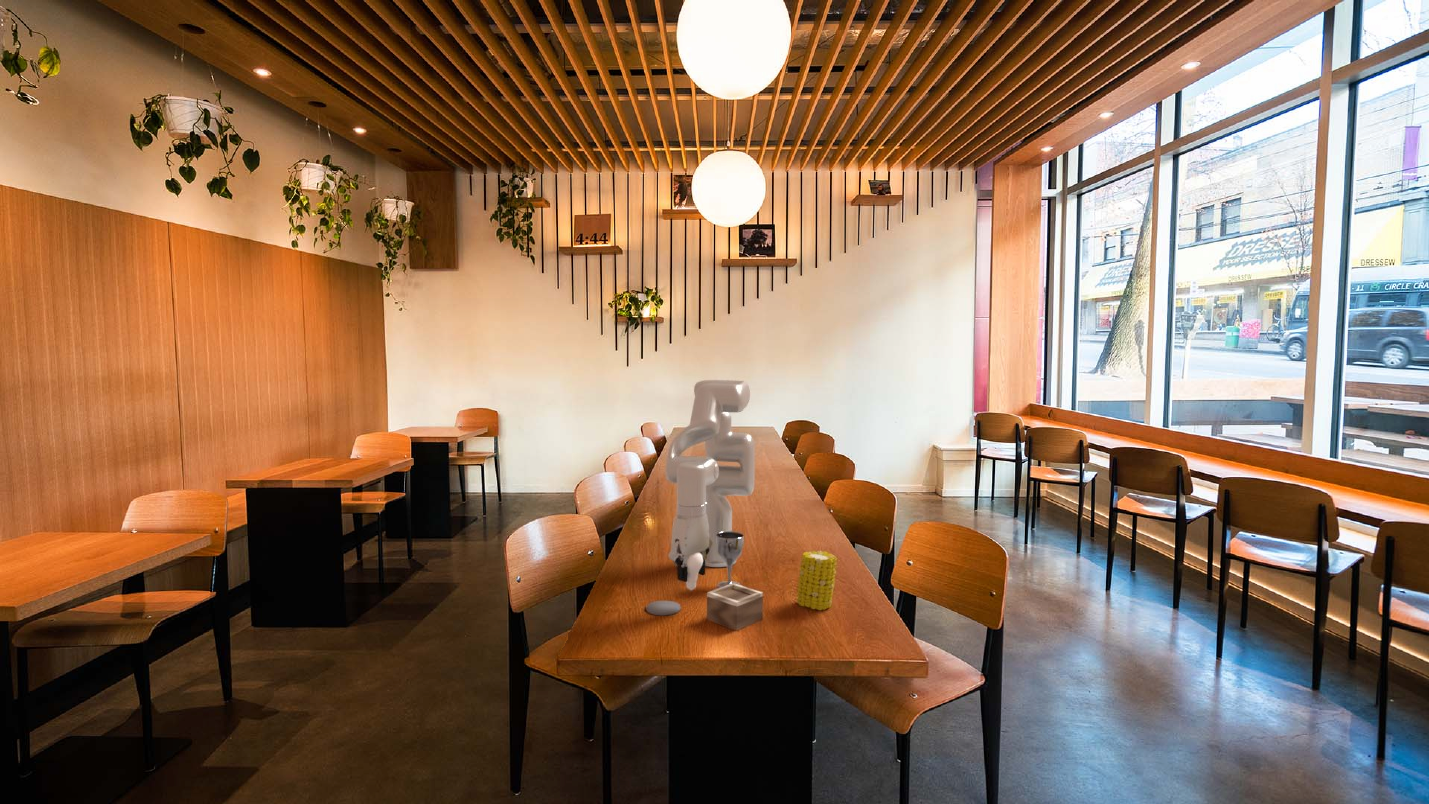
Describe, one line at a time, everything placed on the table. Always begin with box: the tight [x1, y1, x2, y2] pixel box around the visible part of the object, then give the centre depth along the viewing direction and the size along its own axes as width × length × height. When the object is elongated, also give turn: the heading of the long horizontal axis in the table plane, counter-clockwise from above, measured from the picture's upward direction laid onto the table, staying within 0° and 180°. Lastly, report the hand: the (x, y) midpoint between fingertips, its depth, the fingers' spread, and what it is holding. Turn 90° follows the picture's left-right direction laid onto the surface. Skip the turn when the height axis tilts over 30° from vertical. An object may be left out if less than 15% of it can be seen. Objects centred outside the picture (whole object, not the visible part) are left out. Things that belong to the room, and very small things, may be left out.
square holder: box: [706, 583, 764, 632], centre depth 168 cm, size 10×10×7 cm
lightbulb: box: [681, 552, 703, 591], centre depth 174 cm, size 6×6×11 cm
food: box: [796, 550, 838, 611], centre depth 179 cm, size 15×12×10 cm
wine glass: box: [716, 530, 745, 588], centre depth 193 cm, size 8×8×15 cm
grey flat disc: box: [645, 600, 681, 617], centre depth 175 cm, size 9×9×1 cm
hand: (691, 576), depth 174 cm, fingers closed on lightbulb, 5 cm apart
